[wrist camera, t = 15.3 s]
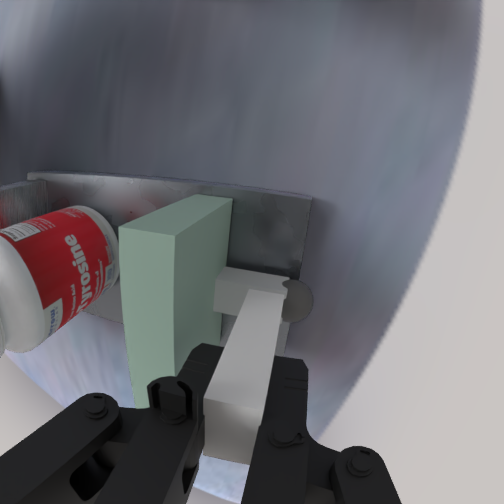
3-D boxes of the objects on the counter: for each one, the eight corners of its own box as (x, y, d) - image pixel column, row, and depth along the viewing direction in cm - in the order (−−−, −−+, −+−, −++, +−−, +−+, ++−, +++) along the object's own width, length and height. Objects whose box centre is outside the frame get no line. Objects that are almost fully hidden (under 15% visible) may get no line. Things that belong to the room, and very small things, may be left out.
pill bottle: (125, 301, 20) (14, 405, 9) (59, 280, 20) (-49, 353, 10) (125, 209, 18) (-29, 277, 7) (55, 198, 18) (-79, 244, 8)
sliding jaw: (189, 337, 19) (137, 419, 12) (196, 193, 16) (118, 226, 9) (297, 358, 18) (287, 456, 11) (327, 213, 15) (344, 263, 8)
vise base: (48, 288, 23) (-20, 333, 15) (40, 170, 20) (-47, 189, 12) (284, 347, 20) (267, 447, 12) (311, 196, 17) (315, 234, 9)
